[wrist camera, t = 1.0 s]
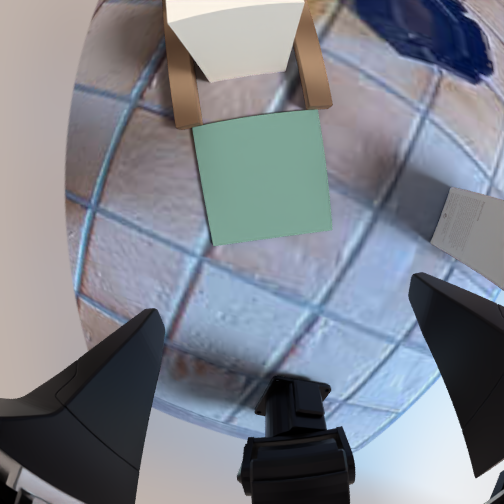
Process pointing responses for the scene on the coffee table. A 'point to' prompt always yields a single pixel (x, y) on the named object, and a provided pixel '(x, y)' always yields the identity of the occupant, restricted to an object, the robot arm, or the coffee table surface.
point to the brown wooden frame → (186, 85)
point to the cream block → (236, 34)
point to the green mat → (264, 176)
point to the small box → (473, 232)
